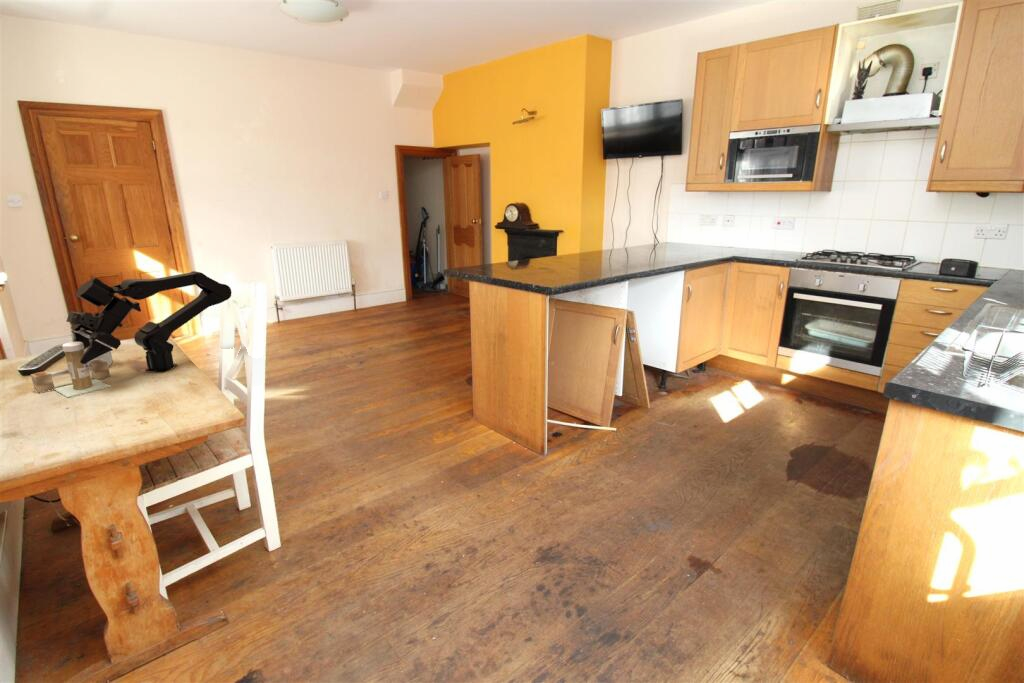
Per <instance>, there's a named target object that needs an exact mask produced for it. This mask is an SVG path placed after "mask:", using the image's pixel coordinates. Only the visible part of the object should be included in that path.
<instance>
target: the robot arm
mask: <svg viewBox="0 0 1024 683" xmlns="http://www.w3.org/2000/svg"><path fill="white" fill-rule="evenodd" d="M189 286H197V288H199V289H201V291H200V292H199V294H198V296H197V297H195V298H194V299H193V300H191V301H190V302H188V303H187V304H185V305H184V306H183V307H181V308H179V309H178V310H176V311H175V312H174V313H172V314H171V315H169V316H168V317H166V318H164V319H163V320H161V321H159V322H157V323H156V322H153V321H148V322H146V323H145V324H144V325H143V326H141V327H138V328H137V331H136V332H135V334H134V342H135V344H136V345H138V346H139V347H142V349H143V350H144V351H145V361H146V366H147V368H146V369H144V370H145V372H148V371H155V372H156V373H165V371H166V372H168V371H169V369H170V370H172V369H174V368H176V367H178V364H177V363H174V358H173V350H174V344H172V343H170V342H168V341H169V339H170V338H171V336H172V334H173V333H174V332H175V331H177V330H178V329H179V328H181V327H182V326H184V325H185V324H187V323H188V322H189V321H191V320H192V319H194V318H195V317H196V316H198V315H200V314H201V313H203V311H205V310H207V309H208V308H210V307H213V306H217V305H219V304H221V303H224V302H225V301H227V300H229V299H230V298H231V297H232V289H231V287H230V286H229V285H228V284H225V283H220V282H218V281H216V280H214V279H213V278H211V277H208V276H207V275H206V274H204V273H203V272H200V271H196V270H193V271H190V272H186V273H185V272H184V273H181V274H175V275H169V276H164V277H159V278H158V277H157V278H129V279H128V278H127V279H124V280H123V281H122V282H121V283H120V284H114V285H112V286H110V285H108V284H106V283H104V282H103V281H102V280H101V279H99V278H97V277H92V278H91V279H90V280H87V281H85V283H83V284H81V285H80V286H79V288H78V289H77V290H76V293H75V296H77V297H78V298H80V299H82V300H84V301H86V302H87V303H90V304H91V305H93V306H95V307H97V308H99V307H101V306H102V307H103V309H102V310H101V311H100V312H99V311H97V312H94V313H92V312H86V311H82V312H77V311H72V310H70V311H69V312H68V315H67V319H66V322H67V323H69V324H72V326H71V327H70V329H71V331H70V332H71V333H72V334H73V336H74V340H72V342H82V343H83V345H84V349H86V348H87V347H88V349H87V351H86V352H85V354H84V355H83V357H82V359H81V361H80V363H82V364H85V363H87V362H89V361H91V360H93V359H95V358H97V357H99V356H101V355H103V354H105V353H107V352H109V351H111V352H113V351H114V349H115V350H118V349H119V347H120V346H121V345H122V344H121V339H119V338H117V337H116V336H114V335H113V333H114V332H115V331H117V328H118V327H119V328H122V327H123V325H124V324H123V323H122V322H123V321H124V320H125V319H126V318H127V317H128V315H129V314H130V313H131V312H132V310H133V311H136V312H138V313H140V312H142V309H141V306H140V304H141V303H140V302H138V301H141V300H145V299H147V298H150V297H152V296H155V295H156V294H158V293H160V292H164V291H169V290H174V289H180V288H184V287H189ZM116 295H117V296H116ZM118 296H121V298H120V297H118ZM130 299H133V300H137V301H131V300H130ZM74 331H75V332H74ZM173 367H174V368H173ZM171 368H172V369H171ZM167 370H168V371H167ZM155 372H154V373H155Z"/></svg>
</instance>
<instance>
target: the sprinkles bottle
mask: <svg viewBox="0 0 1024 683" xmlns="http://www.w3.org/2000/svg"><path fill="white" fill-rule="evenodd" d="M62 350H63V352H64V355H65V360H66V364H67V365H66V366H67V369H69V376H70V379H71V380H70V381H71V385H72V384H73V389H77V390H78V389H85V388H89V387H91V386H92V385H93V384H92V382H91V380H92V379H91V378H92V377H91V371H90V370H89V368H88V364H87V363H85V364H82V363H80V361H81V359H82V357H83V355H84V354H85V353H84V345H83V343H82V342H73V341H71V342H66V343H63V344H62Z"/></svg>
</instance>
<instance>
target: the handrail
mask: <svg viewBox="0 0 1024 683" xmlns="http://www.w3.org/2000/svg"><path fill="white" fill-rule="evenodd" d="M88 368H89V369H90V370H89V371H90V375H91V378H93V379H97V380H101V379H105V378H109V377H111V374H110V368H109V367H108V363H107V361H106V360H103V359H98V360H94V361H91V362H89V365H88ZM64 375H70V373H69V369H68V368H66V369H63V370H57V371H53V372H49V371H47V370H45V371H39V372H35V373H32V374H30V377H31V381H32V384H33V389H34V391H35V390H36V391H37V392H36V391H35V392H36V393H38V392H43V391H47V392H49V391H48V390H52V389H55V384H54V380H53V378H55V377H59V376H64ZM100 378H101V379H100ZM52 391H53V390H52ZM43 393H44V392H43Z"/></svg>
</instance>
